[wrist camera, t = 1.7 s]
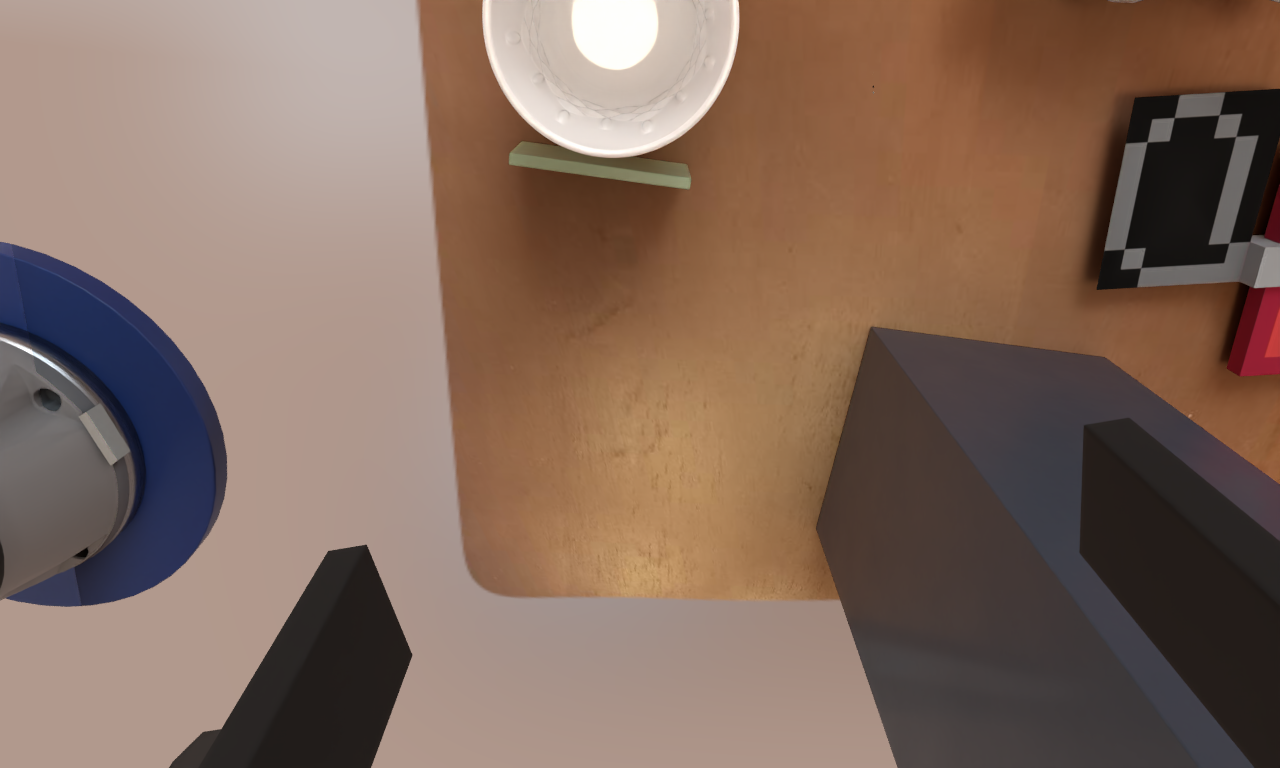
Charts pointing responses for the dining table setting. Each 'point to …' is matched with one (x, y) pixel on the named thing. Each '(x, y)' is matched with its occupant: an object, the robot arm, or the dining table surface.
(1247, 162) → the red board with handle
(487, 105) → the dining table surface
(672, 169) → the pair of grey-green bars
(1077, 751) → the dark grey square column
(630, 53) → the white cup
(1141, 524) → the robot arm
